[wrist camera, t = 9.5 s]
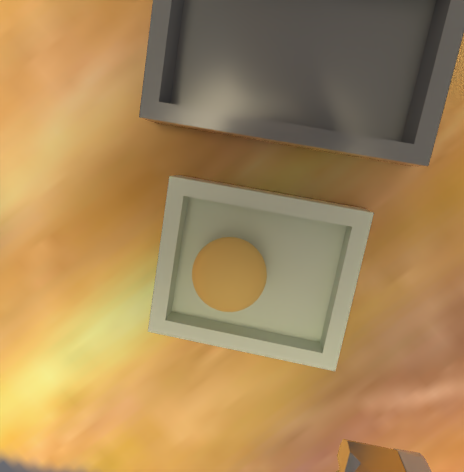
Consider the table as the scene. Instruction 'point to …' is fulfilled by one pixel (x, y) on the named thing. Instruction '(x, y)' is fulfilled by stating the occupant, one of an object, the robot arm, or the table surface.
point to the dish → (306, 72)
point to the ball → (229, 274)
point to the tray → (277, 265)
